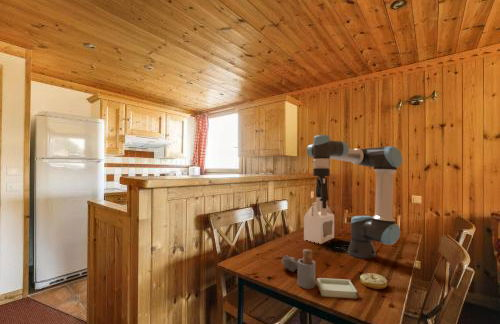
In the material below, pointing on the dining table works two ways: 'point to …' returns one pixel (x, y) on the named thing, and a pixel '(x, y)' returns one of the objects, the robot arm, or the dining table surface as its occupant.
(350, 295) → the sage tray
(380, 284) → the decorated donut
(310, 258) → the walnut dowel
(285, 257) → the fossil
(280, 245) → the dining table surface
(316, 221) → the gable box
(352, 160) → the robot arm
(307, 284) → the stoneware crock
